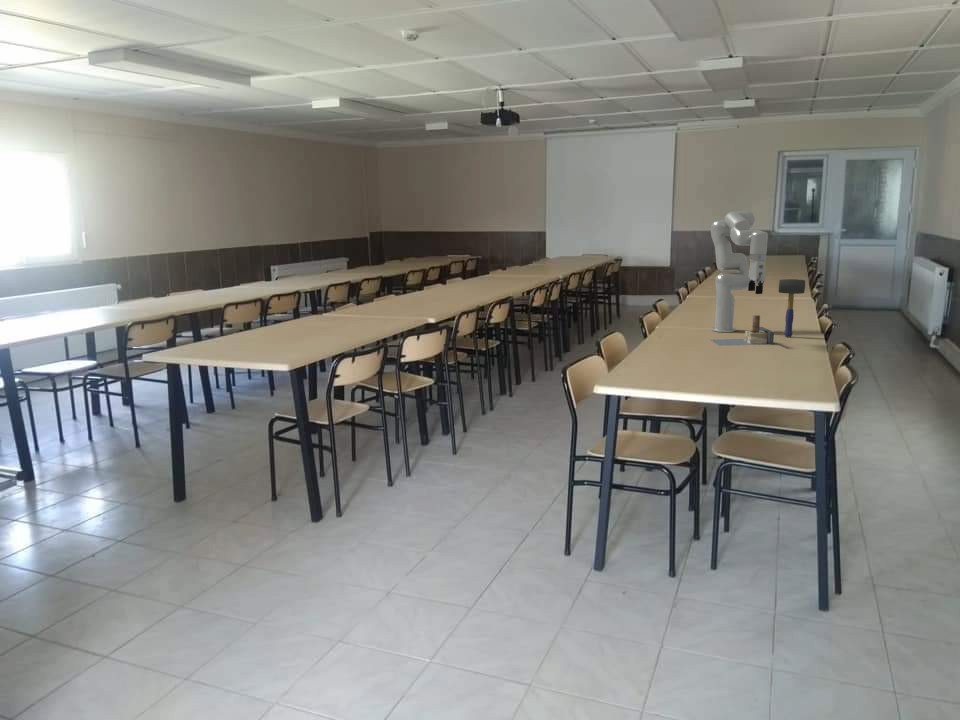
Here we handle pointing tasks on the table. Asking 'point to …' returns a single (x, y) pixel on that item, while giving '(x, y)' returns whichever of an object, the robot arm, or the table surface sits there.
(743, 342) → the jig board
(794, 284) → the rubber mallet
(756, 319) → the dowel
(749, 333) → the socket block
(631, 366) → the table surface
